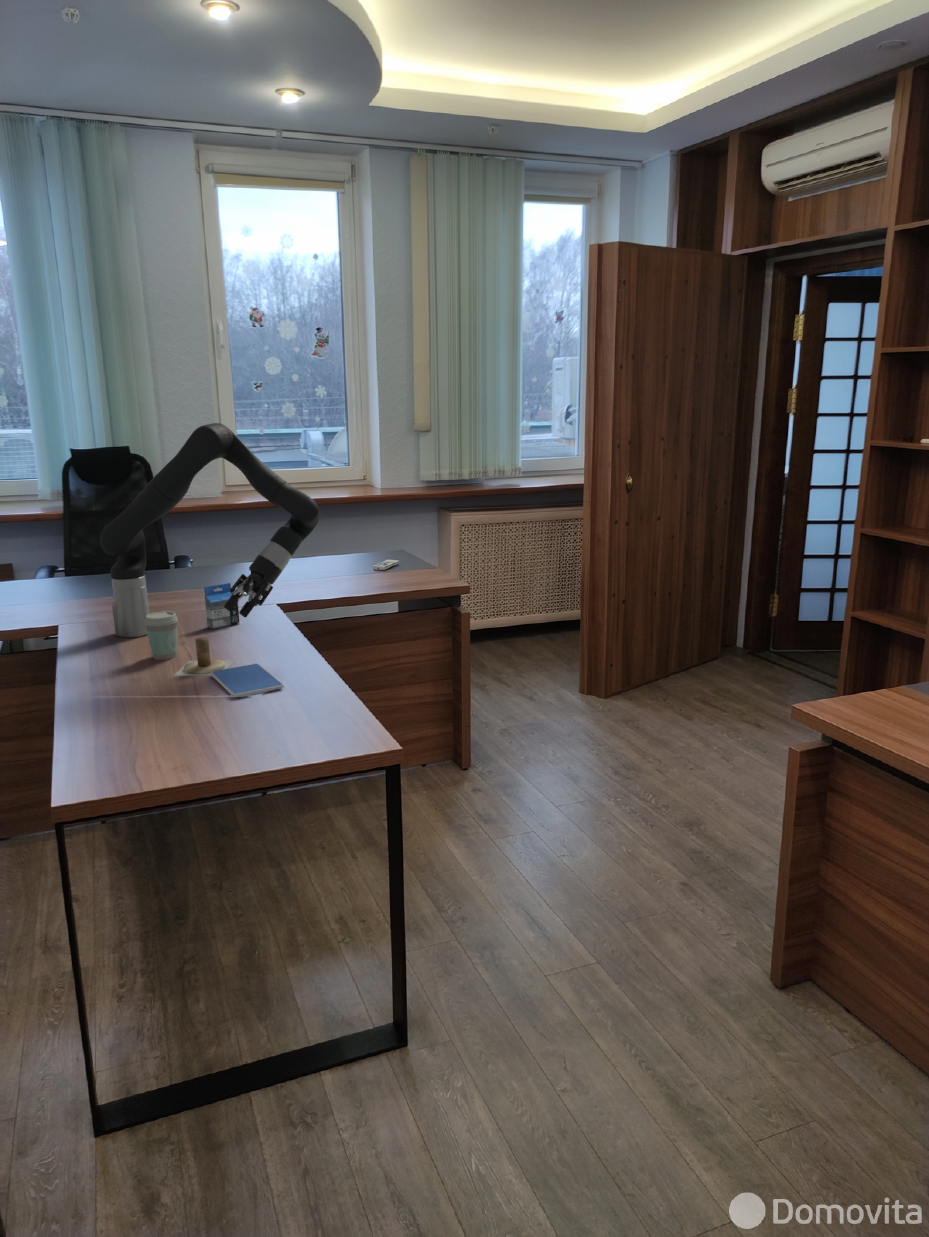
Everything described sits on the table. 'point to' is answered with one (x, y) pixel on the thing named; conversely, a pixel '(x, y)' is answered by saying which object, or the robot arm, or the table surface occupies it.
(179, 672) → the coaster
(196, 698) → the table surface
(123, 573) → the robot arm
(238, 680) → the tablet computer
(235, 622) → the ink cartridge box
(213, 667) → the lid
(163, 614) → the coffee cup
